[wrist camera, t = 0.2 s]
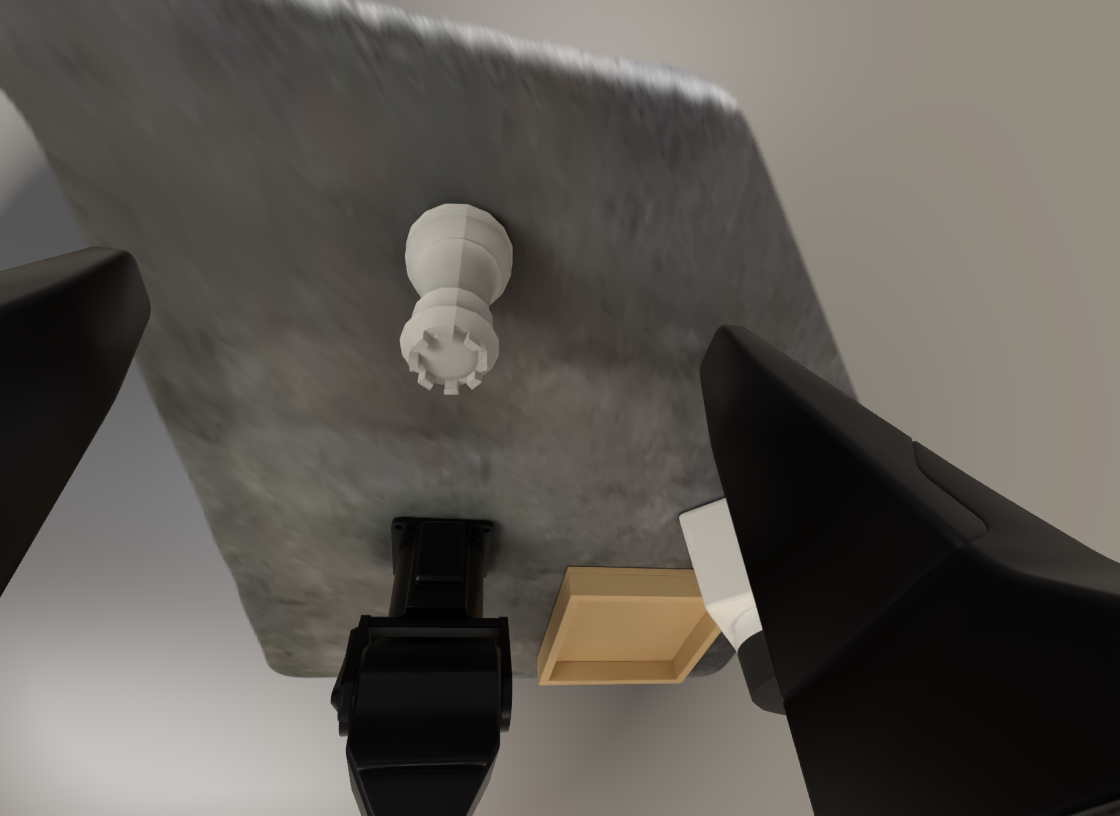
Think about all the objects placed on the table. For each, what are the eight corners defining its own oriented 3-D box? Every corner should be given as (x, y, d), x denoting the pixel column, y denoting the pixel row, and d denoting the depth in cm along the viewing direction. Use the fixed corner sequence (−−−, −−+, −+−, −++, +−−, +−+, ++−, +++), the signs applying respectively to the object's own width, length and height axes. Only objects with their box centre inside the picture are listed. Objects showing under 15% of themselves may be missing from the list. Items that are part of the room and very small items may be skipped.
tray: (675, 657, 54) (681, 683, 52) (536, 658, 51) (538, 685, 50) (736, 570, 44) (747, 598, 42) (567, 566, 41) (570, 595, 39)
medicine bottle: (707, 560, 42) (762, 734, 33) (676, 513, 38) (730, 699, 29) (800, 529, 40) (885, 705, 32) (779, 475, 36) (871, 662, 27)
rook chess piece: (411, 186, 22) (378, 293, 16) (522, 211, 23) (531, 319, 17) (403, 285, 25) (373, 406, 19) (502, 303, 26) (504, 423, 20)
